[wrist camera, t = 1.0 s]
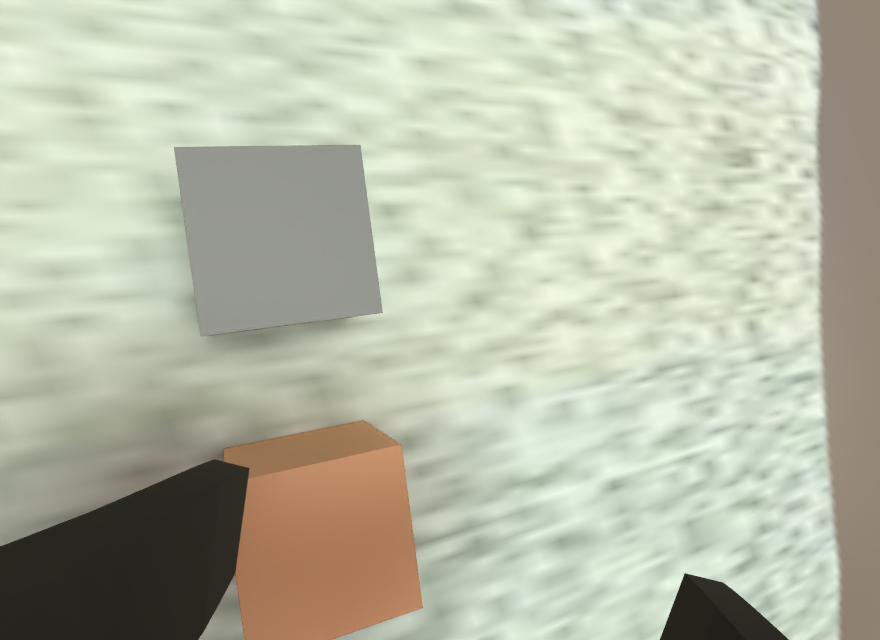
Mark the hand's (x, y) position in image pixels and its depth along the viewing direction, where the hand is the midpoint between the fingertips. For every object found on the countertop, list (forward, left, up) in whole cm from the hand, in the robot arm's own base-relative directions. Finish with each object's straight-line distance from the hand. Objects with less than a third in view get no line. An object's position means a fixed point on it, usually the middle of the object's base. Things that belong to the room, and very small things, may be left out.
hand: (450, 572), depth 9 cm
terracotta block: (-2, -1, -12) cm, 13 cm away
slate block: (+3, +6, -12) cm, 14 cm away
